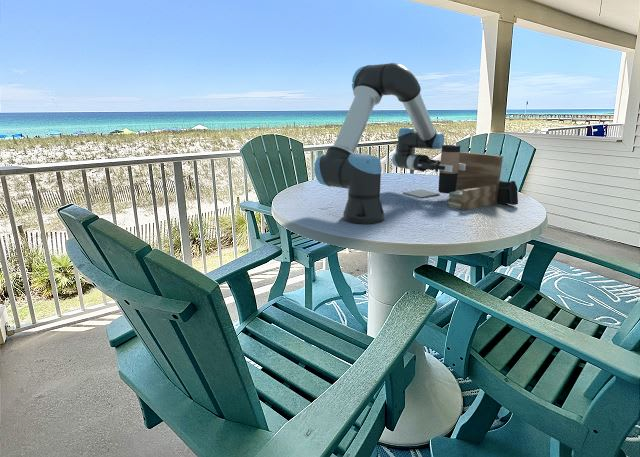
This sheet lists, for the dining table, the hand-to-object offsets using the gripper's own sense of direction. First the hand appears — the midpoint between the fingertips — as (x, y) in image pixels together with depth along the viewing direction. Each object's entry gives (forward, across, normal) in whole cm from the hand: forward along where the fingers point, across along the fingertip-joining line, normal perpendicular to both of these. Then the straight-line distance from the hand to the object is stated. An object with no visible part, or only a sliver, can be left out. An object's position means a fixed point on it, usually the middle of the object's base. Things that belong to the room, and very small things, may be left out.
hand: (458, 168), depth 155 cm
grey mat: (-20, 0, -15) cm, 25 cm away
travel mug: (-5, 0, -11) cm, 12 cm away
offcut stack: (+5, -1, -15) cm, 16 cm away
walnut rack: (0, -2, -15) cm, 15 cm away
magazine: (+4, -18, -15) cm, 24 cm away
